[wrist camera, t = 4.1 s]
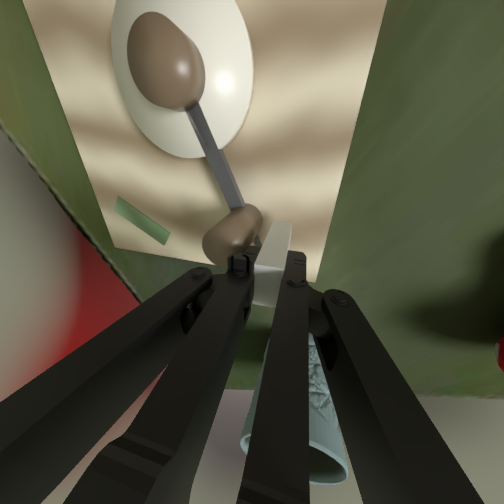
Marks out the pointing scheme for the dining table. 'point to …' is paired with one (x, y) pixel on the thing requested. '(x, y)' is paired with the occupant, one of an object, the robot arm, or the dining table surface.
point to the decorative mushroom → (500, 352)
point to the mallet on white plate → (191, 93)
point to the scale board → (246, 142)
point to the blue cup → (313, 426)
